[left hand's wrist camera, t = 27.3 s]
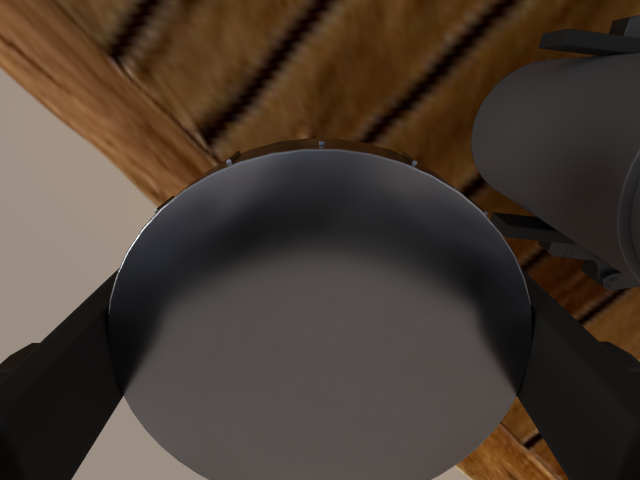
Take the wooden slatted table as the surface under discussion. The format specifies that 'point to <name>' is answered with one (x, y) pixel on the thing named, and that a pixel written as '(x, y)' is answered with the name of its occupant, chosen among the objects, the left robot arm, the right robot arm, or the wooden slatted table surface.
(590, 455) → the left robot arm
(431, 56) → the wooden slatted table surface
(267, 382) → the lid
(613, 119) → the jar
